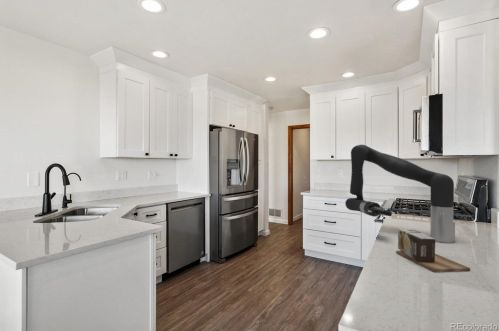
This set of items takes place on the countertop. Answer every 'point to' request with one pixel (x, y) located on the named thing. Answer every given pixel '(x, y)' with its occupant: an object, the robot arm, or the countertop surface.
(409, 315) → the countertop surface
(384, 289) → the countertop surface
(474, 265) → the countertop surface
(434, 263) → the cutting board
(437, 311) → the countertop surface
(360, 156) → the robot arm
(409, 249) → the coffee box
